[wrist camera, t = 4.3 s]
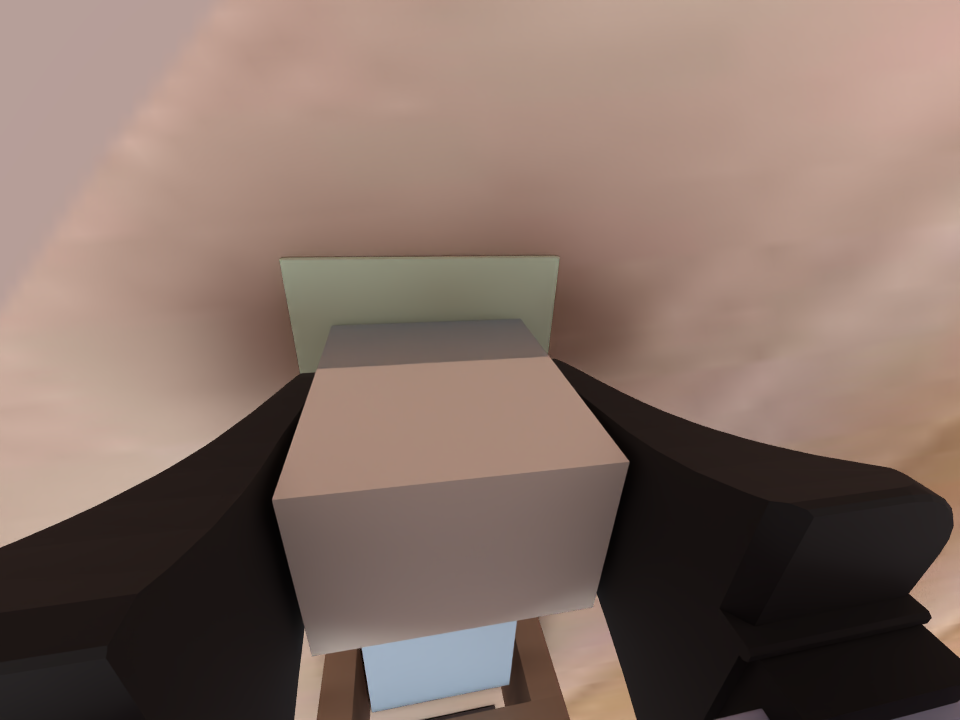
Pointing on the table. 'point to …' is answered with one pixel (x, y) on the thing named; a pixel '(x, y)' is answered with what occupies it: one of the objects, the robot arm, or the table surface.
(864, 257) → the table surface
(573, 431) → the block
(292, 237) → the table surface
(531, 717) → the tunnel
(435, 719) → the pad
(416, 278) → the mat
